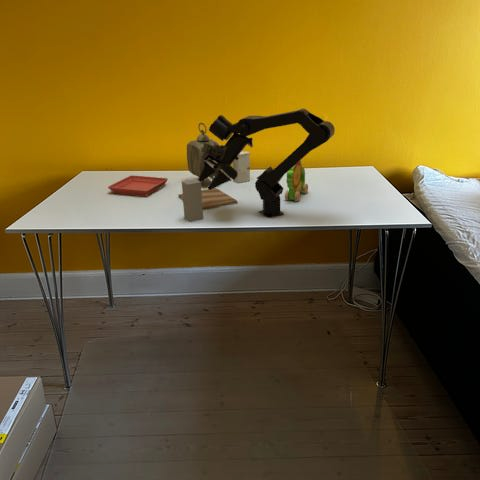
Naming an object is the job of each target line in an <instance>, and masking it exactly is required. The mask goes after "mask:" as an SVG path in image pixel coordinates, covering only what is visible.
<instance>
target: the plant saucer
mask: <svg viewBox="0 0 480 480" xmlns="http://www.w3.org/2000/svg"><path fill="white" fill-rule="evenodd" d="M167 182H168V177H167V178H166V177H156V176H145V175H143V176H142V175H134V174H133V175H132V174H131V175H128V176H127V177H125V178H122V179H120V180H119V181H116V182H114V183H113V184H111V185H108V186H107V189H109V190H110V191H111V192H113V194H119V195H128V194H129V195H131V196H138V197H139V196H140V197H147V196H149V195H150V194H152V193H154V192H155V191H157V190H159V189H161V188H162V187H164V185H166V183H167ZM129 195H128V196H129Z"/></svg>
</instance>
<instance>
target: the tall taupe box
mask: <svg viewBox="0 0 480 480" xmlns="http://www.w3.org/2000/svg"><path fill="white" fill-rule="evenodd" d="M181 190H182V192H181V193H182V194H183V200H182V203H183V217H184V218H185V220H186V221H188V222H189V223H190V222H191V223H192V222H195V221H196V222H197V221H201V220H203V219H204V214H203V213H204V212H203V211H204V210H203V209H202V190H203V189H202V184H201V182H200V181H198V178H197V179H196V178H194V179H186V180H181Z"/></svg>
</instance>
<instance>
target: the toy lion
mask: <svg viewBox="0 0 480 480" xmlns="http://www.w3.org/2000/svg"><path fill="white" fill-rule="evenodd" d="M286 185H287V188H288V190H286V191H285V192H284V200H285V201H290V200H294V201H295V202H299V201H300V200H301V192H302V194H307V193H308V191H309V184H308V183H306V171H305V167H304V166H303V164H302V161H301V160H300V161H299V162H298V163H297V164H296V165H294V166H293V167H292V168H291V169H290V170H289V171H288V172H287V173H286Z"/></svg>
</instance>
